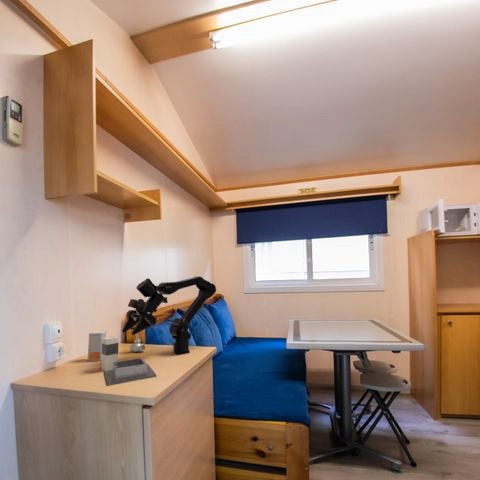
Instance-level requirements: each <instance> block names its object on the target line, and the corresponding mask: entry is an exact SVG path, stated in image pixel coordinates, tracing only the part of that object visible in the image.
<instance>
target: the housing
mask: <svg viewBox="0 0 480 480" xmlns="http://www.w3.org/2000/svg"><path fill="white" fill-rule="evenodd" d="M104 376H105V377H104V378H105V381H106V386H112V385H118V384H123V383H130V382H133V381H135V382H136V381H139V380H140V381H141V380H145V379H151V378H155V377H156V378H157V374H156V372H155V371H154V370H153V369H152V368H151V366H150V365H149V363H147V362H146V361H145V359H144V357H137V358H131V359H124V360H118V361H116V362H113V370H108V371H104ZM129 381H130V382H129Z"/></svg>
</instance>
